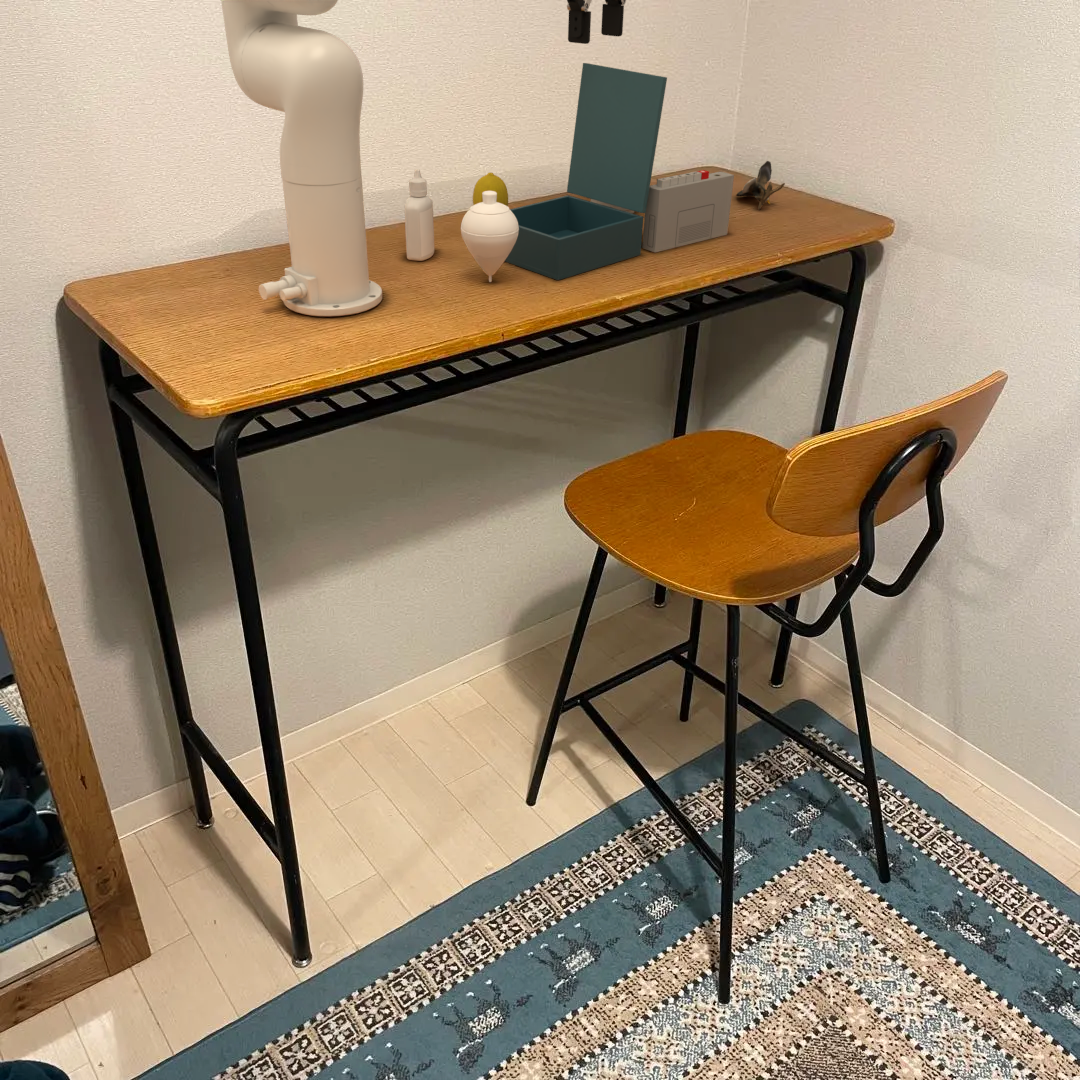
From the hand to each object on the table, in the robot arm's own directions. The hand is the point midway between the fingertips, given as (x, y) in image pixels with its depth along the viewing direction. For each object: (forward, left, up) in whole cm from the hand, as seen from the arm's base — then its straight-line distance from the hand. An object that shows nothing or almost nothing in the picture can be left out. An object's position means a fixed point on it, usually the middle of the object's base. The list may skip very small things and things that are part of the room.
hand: (595, 39), depth 148 cm
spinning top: (-28, -8, -27) cm, 40 cm away
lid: (-2, -6, -12) cm, 14 cm away
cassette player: (+7, -14, -27) cm, 31 cm away
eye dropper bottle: (-28, +7, -27) cm, 40 cm away
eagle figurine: (+33, -8, -27) cm, 44 cm away
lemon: (-10, +12, -27) cm, 31 cm away
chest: (-12, -6, -27) cm, 30 cm away
